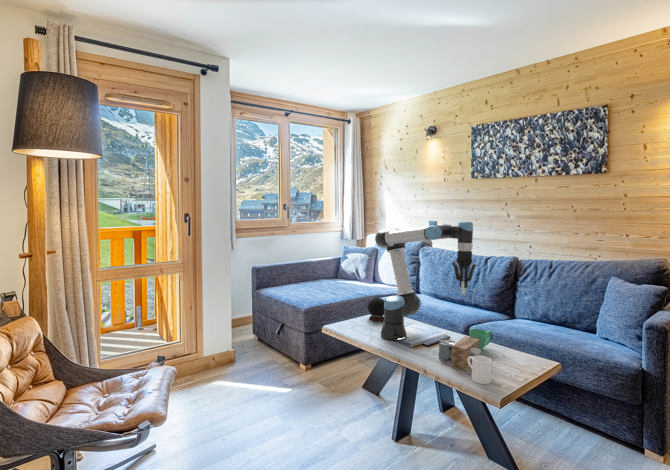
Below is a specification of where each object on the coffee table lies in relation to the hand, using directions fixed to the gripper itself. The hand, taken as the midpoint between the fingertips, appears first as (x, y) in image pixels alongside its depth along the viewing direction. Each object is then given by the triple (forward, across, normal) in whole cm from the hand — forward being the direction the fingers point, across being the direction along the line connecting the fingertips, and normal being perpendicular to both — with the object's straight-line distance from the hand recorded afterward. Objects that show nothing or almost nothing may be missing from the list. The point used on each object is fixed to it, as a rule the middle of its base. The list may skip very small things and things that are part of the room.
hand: (463, 293), depth 213 cm
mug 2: (+31, +20, -33) cm, 49 cm away
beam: (+30, +9, -19) cm, 37 cm away
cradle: (+30, 0, -19) cm, 36 cm away
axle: (+25, +6, -19) cm, 32 cm away
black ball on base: (+31, -64, +15) cm, 73 cm away
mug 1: (+31, +9, +5) cm, 32 cm away
